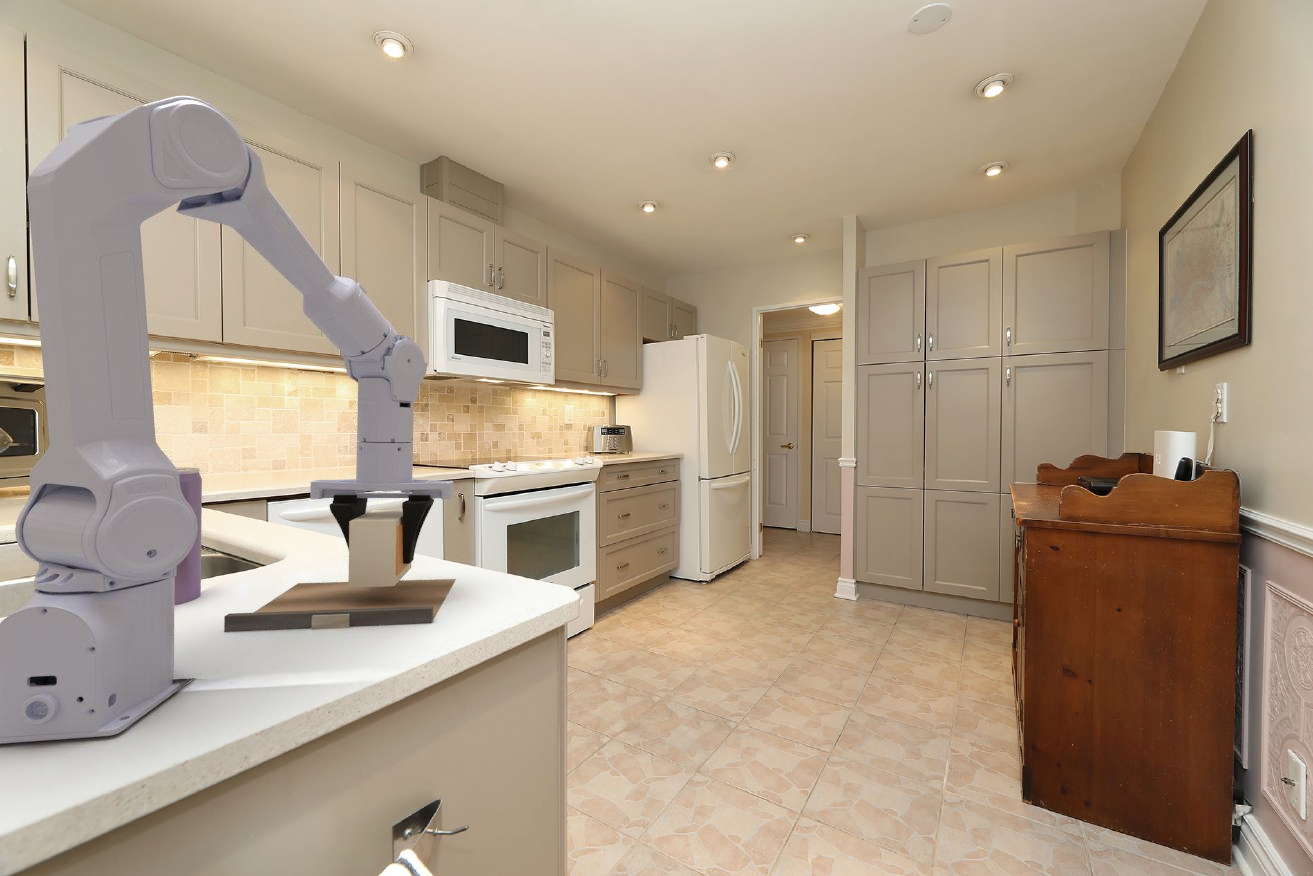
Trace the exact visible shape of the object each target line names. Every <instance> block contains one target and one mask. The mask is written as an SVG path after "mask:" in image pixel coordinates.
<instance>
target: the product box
mask: <svg viewBox="0 0 1313 876" xmlns="http://www.w3.org/2000/svg"><path fill="white" fill-rule="evenodd" d="M403 544H404V521H403V509H382V510H381V509H373V510H372V509H371V510H369V511H368V512H367V511H366V513H365V514H363V515H361V516H359V517H357V518H355V519H353V520H351V521H349V550H348V581H347V582H348V588H349V587H384V586H395V585H396V584H397V583H398V582H399V580H401V579H402V578H404V576H406V574H407V573H408V572H409V571H410V570H411V569H412V562H411V563H410V564H403Z"/></svg>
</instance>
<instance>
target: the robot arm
mask: <svg viewBox="0 0 1313 876" xmlns="http://www.w3.org/2000/svg"><path fill="white" fill-rule="evenodd" d="M66 131H67V135H66V136H65V137H64V138H63V139H62V140H61V141H60V142H59V143H58V144H57V145H56V146H55V148H53V149H52V150H51V151H50V153H48V155H47V156H45V158H44V159H43V160H42V161H41V162H40V163H39V164H38V165H37V166H36V167H34V169H33V170H32V171H31V173H29V175H28V179H27V186H26V189H27V190H26V192H27V201H28V202H27V203H28V212H29V213H28V214H29V215H28V216H29V225H30V236H31V246H32V247H31V249H32V256H33V257H32V259H33V269H34V270H33V271H34V280H35V292H36V294H35V295H36V303H37V304H36V305H37V313H38V316H37V317H38V324H39V325H38V327H39V336H40V347H41V356H42V357H41V359H42V369H43V370H42V372H43V380H44V381H43V382H44V392H45V393H44V395H45V404H46V406H45V407H46V415H47V427H48V437H49V439H48V440H49V447H48V448H47V450H46V452H44V453H43V455H42V456H41V457H40V459H39V460H38V461H37V462H36V463H35V464H34V466H33V467H32V468H31V470H30V472H29V486H30V487H29V495H28V498H27V501H26V503H25V504H24V506H23V508H22V509H21V511H20V512H19V514H18V517H17V520H16V522H15V528H14V529H15V530H14V532H15V533H14V534H15V539H16V542H17V544H18V547H19V548H20V549H21V552H23V553H24V555H26V556H27V557H28V558H29V559H31V560H32V561H34V562H36V563H38V569H37V572H36V573H35V577H34V581H33V582H34V584H33V585H34V590H33V593H32V595H31V597H30V599H29V600H28V602H26V604H25V605H24V606H23V607H22V608H20V609H18V610H16V611H14V612H13V613H11V614H10V615H8V616H6V617H5V618H4V619H3V620H1V622H0V745H1V744H13V743H15V744H16V743H28V742H41V741H54V740H55V741H57V740H69V739H85V738H95V737H96V738H97V737H99V738H100V737H109V736H114V735H117V734H120V733H121V732H123V731H124V730H125V729H127V728H128V727H130V726H132V725H133V724H134V723H135V722H137V721H138V720H139V719H141V718H142V717H143V716H145V715H146V714H148V713H149V712H151V710H153V709H154V708H156V707H157V706H159V705H160V704H162V703H163V702H164V701H165V700H167V699H168V698H169V697H171V696H172V695H173V694H175V693H177V692H178V691H179V690H180V689H182V688H183V687H185V686H186V685H187V684H189V683H190V682H191V681H193V680H195V678H193V677H192V678H191V677H190V678H188V677H187V678H174V677H175V605H174V594H175V576H176V567H177V565H178V564H179V563H180V562H182V560H183V559H184V558H185V557H186V556H187V555H188V553H189V552H190V550H191V549H192V547H193V545H194V543H195V540H196V536H197V530H198V525H197V518H196V515H195V513H194V511H193V509H192V507H191V506H190V505H189V503H188V502H187V501H186V499H185V498H184V496H183V494H182V491H181V488H180V481H179V472H178V470H177V468H176V467H177V466H175V464H174V463H173V462H172V460H171V459H170V458H169V457H168V456H167V455H166V454H165V452H164V451H163V450H162V449H161V447H160V446H159V444H158V443H157V439H156V429H155V428H156V426H155V425H156V423H155V414H154V412H155V411H154V410H155V409H154V397H153V386H152V385H153V384H152V373H151V372H152V370H151V360H150V359H151V358H150V344H149V343H150V341H149V330H148V316H147V304H146V303H147V301H146V289H145V277H144V276H145V275H144V274H145V273H144V263H143V251H142V236H141V234H142V232H141V226H142V223H143V222H145V221H146V220H148V219H150V218H152V217H153V216H156V215H157V214H159V213H161V212H163V211H164V210H168V209H169V208H171V207H172V206H175V205H176V204H178V205H177V207H176V211H175V212H176V213H177V214H181V215H183V216H186V217H191V218H195V219H200V220H204V221H208V222H212V223H215V224H216V223H217V224H220V225H223V226H224V225H225V226H228V227H230V228H232V229H233V230H234V231H236V233H237V234H238V235H239V236H241V237H242V239H243V240H245V242H247V243H248V244H249V245H250V246H251V247H252V248H253V249H254V250H255V251H257V253H258V254H260V256H262V258H264V259H265V260H266V261H267V262H268V263H269V265H271V266H272V267H273V268H274V269H275V270H276V271H278V273H280V275H282V277H283V278H285V279H286V280H287V281H288V282H289V283H290V284H291V285H292V286H294V288H295V289H296V290H297V291H299V292H300V294H302V311H303V314H304V315H305V316H306V317H307V318H308V319H309V320H310V321H311V322H312V323H313V325H315V326H316V327H317V329H319V330H320V331H321V332H322V333H323V335H324V336H325V337H326V338H327V339H328V340H329V341H330V342H331V343H332V344H333V345H334V346H335V347H336V348H337V349H338V350H339V354H340V355H341V356H342V358H343V362H344V367H345V370H346V374H347V375H348V377H349V378H350V380H354V381H355V382H356V383H357V417H356V419H357V421H356V423H357V425H356V430H357V431H356V462H355V464H356V467H355V468H356V470H355V471H356V472H355V473H356V474H355V476H356V478H355V479H316V480H312V481H310V493H309V494H310V495H309V496H310V499H311V500H323V499H332V503H330V504H329V510H330V513H331V514H332V515H333V517H334V519H335V520H336V522H337V524H338V526H339V528H340V529H341V532H342V535H343V537H344V540H345V543H346V546H347V550H348V551H349V521H351V520H353V519H355V518H357V517H359V516H361V515H363V514H365V513H367V506H368V499H408V500H404V501H402V503H401V504H402V505H401V508H402V509H401V510H403V521H404V544H403V564H410V563H411V564H412V562H413V561H414V559H415V557H414V556H415V551H416V546H417V542H418V539H419V537H420V533H421V531H422V528H423V525H424V523H425V521H426V518H427V517H428V515H429V513H430V511H431V508H432V507H433V504H434V503H435V499H441V500H451V499H453V498H454V480H436V479H435V480H431V479H413V463H414V462H413V460H414V457H413V456H414V453H413V452H414V419H415V418H414V415H415V414H414V411H415V410H414V409H415V407H414V406H415V402H417V398H419V393H420V392H419V389H420V386H421V385H420V384H422V381H423V380H424V378H425V376H426V373H427V368H428V363H427V362H425V358H424V357H425V356H424V353H423V350H422V348H421V347H420V346H419V345H418V343H417V342H415V341H414V340H413V339H412V338H410V336H405V335H404V334H403V335H402V334H399V333H398V332H397V330H396V329H395V328H394V326H393V325H392V324H391V322H390V321H389V320H387V318H386V317H385V316H384V314H383V313H381V312H380V310H379V309H378V308H377V307H376V305H375V303H373V302H372V301H371V299H370V298H369V297H368V296H367V292H368V291H367V290H366V288H364V287H363V285H362V284H361V283H357V282H356V281H355V280H354V279H352V278H349V277H343V276H340V275H335V274H334V273H333V271H332V270H331V269H330V268H329V266H328V265H327V263H325V261H324V260H323V259H322V257H321V255H319V253H318V251H317V250H316V249H315V248H314V247H313V245H312V244H311V242H310V241H309V240H308V238H307V237H306V236H305V234H304V233H303V232H302V230H301V229H300V228H299V226H298V225H297V224H296V222H295V221H294V219H293V218H292V217H291V216H290V214H289V212H287V210H286V209H285V207H284V206H283V205H282V204H281V202H280V201H279V200H278V198H277V197H276V195H275V194H274V193H273V191H272V190H271V189H270V187H269V185H268V183H267V179H266V174H265V171H264V166H263V163H262V162H263V161H262V159H261V157H260V156H259V155H258V153H257V152H256V151H255V150H254V149H253V148H252V147H251V146H250V145H249V144H248V143H246V142H245V140H244V139H243V137H242V135H241V133H240V132H239V130H238V128H237V127H236V126H235V124H233V122H232V121H231V120H230V118H228V117H227V116H226V115H225V114H224V113H223V112H222V111H220V110H219V109H218V108H217V107H215V106H213V104H211V103H209V102H206V101H205V100H202V99H200V98H197V97H195V96H189V95H188V96H187V95H176V96H171V97H167V98H163V99H160V100H157V101H156V100H155V101H152V102H149V103H145V104H140V105H138V106H135V107H133V108H130V109H128V110H126V111H124V112H121V113H118V114H114V115H112V114H111V115H103V116H100V117H95V118H93V119H88V120H85V121H81V122H77V123H74V124H73V123H72V124H71V125H68V126H67V130H66ZM394 491H395V492H396V493H395V492H394ZM397 491H400V492H397ZM392 492H394V493H392Z"/></svg>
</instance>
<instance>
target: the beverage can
mask: <svg viewBox="0 0 1313 876" xmlns="http://www.w3.org/2000/svg"><path fill="white" fill-rule="evenodd" d="M175 467H176V468H177V470H178V472H179V481H180V488H181V491H182V494H183V496H184V498H185V499H186V501H187V502H188V503H189V505H190V506H191V507H192V509H193V511H194V513H195V515H196V518H197V525H198V530H197V536H196V540H195V543H194V545H193V547H192V549H191V550H190V552H189V553H188V555H187V556H186V557H185V558H184V559H183V560H182V562H180V563H179V564H178V565H177V567H176V576H175V594H174V606H178V605H182V604H186V603H189V602H192V601H196V600H197V599H198V598H201V597H202V594H201V593H202V592H201V591H202V518H203V517H202V515H203V513H202V507H203V505H202V502H203V501H202V499H203V495H202V494H203V492H202V491H203V490H202V489H203V478H202V476H201V474H200V471H201V469H200V468H199V467H187V466H184V467H183V466H182V467H181V466H180V467H179V466H178V467H177V466H175Z"/></svg>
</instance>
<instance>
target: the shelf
mask: <svg viewBox="0 0 1313 876" xmlns="http://www.w3.org/2000/svg"><path fill="white" fill-rule="evenodd" d="M456 580H457V579H456V578H449V579H448V578H444V579H443V578H442V579H441V578H440V579H439V578H438V579H409V580H408V579H406V580H403V579H402V580H401V579H400V580H399V582H398V583H397V584H396V585H395V586H384V587H349V588H348V581H335V582H334V581H333V582H332V581H331V582H329V581H327V582H302V583H301V582H298V583H296V584H295V585H293V586H292V587H290V588H289V589H286V591H284V592H283V593H281V594H279V595H278V596H276V597H275V598H273V599H271V600H270V601H269V602H267V603H266V604H264V605H263V606H261V607H260V608H258V609H257V610H255V611H254V612H242V613H241V612H239V613H238V612H237V613H236V612H235V613H232V612H231V613H228V614H226V615H224V618H223V619H224V621H223V623H224V625H223V626H224V628H223V629H224V630H223V632H224V633H231V632H234V633H235V632H237V633H239V632H255V631H259V632H260V631H278V630H281V631H282V630H285V631H286V630H303V629H304V630H305V629H306V630H307V629H311V630H328V629H333V630H334V629H349V628H353V627H356V628H357V627H373V626H374V627H376V626H378V627H379V626H399V625H400V626H401V625H403V626H404V625H424V624H432V623H433V621H434V619H435V618H436V617H437V614H438V613H439V611H440V609H441V607H442V605H443V604H444V602H445V600H446V598H447V596H448V594H449V592H450V590H451V589H452V588H453V585H454V584H455V582H456Z"/></svg>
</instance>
